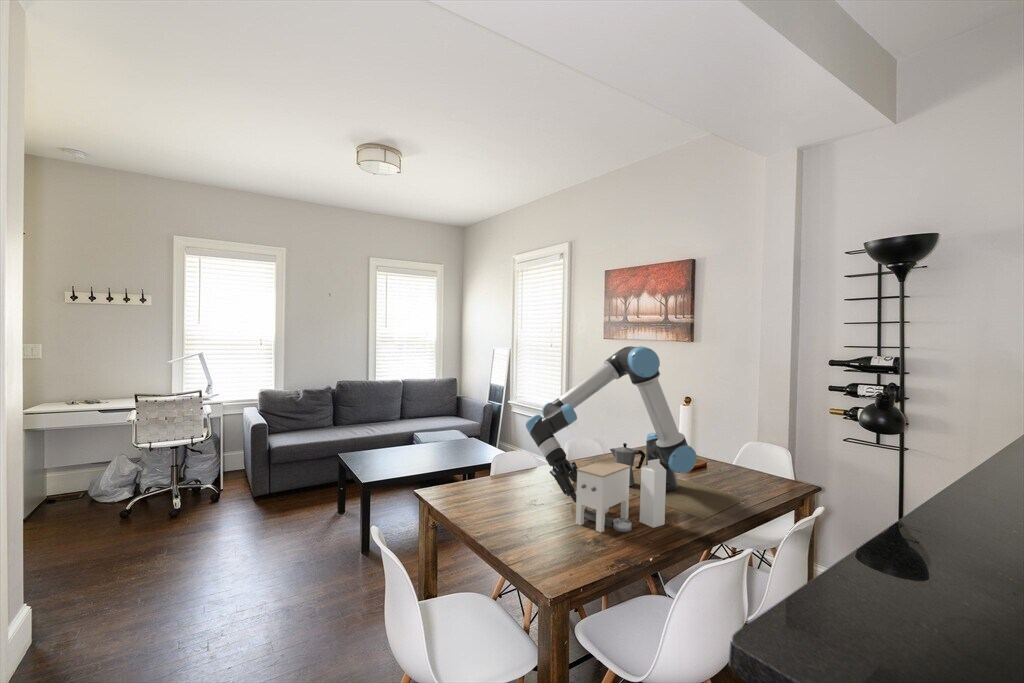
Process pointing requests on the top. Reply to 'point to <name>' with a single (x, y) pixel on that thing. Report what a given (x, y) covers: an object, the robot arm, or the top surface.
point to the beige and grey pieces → (587, 513)
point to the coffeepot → (628, 458)
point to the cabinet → (602, 490)
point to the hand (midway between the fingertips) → (588, 507)
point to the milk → (653, 494)
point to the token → (622, 524)
